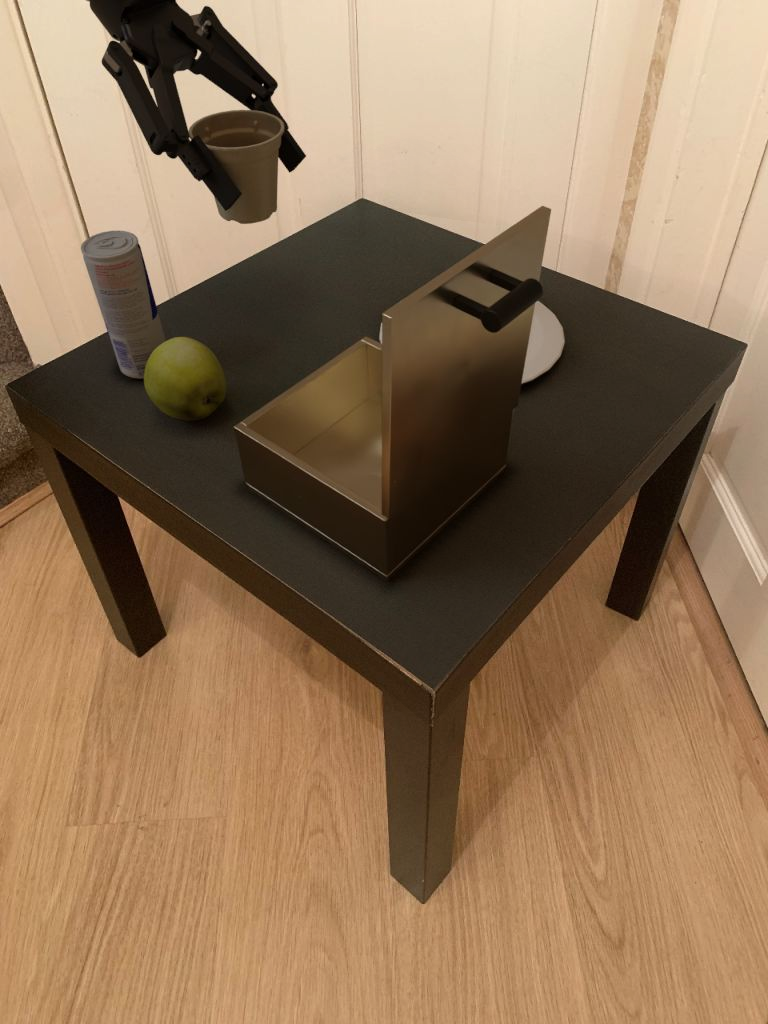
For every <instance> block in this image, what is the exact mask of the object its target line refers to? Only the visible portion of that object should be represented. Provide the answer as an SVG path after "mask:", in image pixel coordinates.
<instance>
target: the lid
mask: <svg viewBox="0 0 768 1024" xmlns="http://www.w3.org/2000/svg"><path fill="white" fill-rule="evenodd" d="M551 214H552V209H551V208H550V207H548V206H545V205H541V206H540V207H538V208H536V209H535V210H533V211H532V212H531V213H529V214H528V215H526V216H524V217H523V218H522V219H520V220H519V221H517V222H516V223H514V224H513V225H511V226H510V227H508V228H507V229H505V230H504V231H502V232H501V233H499V234H498V235H497V236H495V237H493V238H492V239H490V240H489V241H488V242H486V243H485V244H483V245H481V246H480V247H478V248H477V249H475V250H474V251H473V252H472V253H470V254H468V255H467V256H465V257H463V259H461V260H460V261H458V262H456V263H455V264H454V265H451V267H449V268H448V269H446V270H444V271H443V272H442V273H440V274H439V275H437V276H436V277H434V278H432V280H429V281H428V282H427V283H425V284H423V285H422V286H420V287H419V288H418V289H416V290H415V291H413V292H412V293H411V294H409V295H407V296H406V297H404V298H403V299H401V300H402V301H401V300H400V301H399V302H397V303H395V304H394V305H393V306H391V307H389V308H388V309H387V310H385V311H384V312H382V314H381V323H382V509H381V514H382V515H383V516H385V517H386V518H388V519H390V518H391V517H392V516H393V515H394V514H395V513H397V512H398V511H399V510H400V509H401V508H402V507H403V506H404V505H406V504H407V503H408V502H409V501H410V500H411V499H412V498H414V497H415V496H416V495H417V494H418V493H419V492H420V491H421V490H423V489H424V488H425V487H426V486H427V485H428V484H429V483H431V482H432V481H433V480H434V479H435V478H436V477H437V476H439V475H440V474H441V473H442V472H443V471H444V470H445V469H446V468H448V467H449V466H450V465H451V464H452V463H453V462H454V461H456V460H457V459H458V458H459V457H460V456H461V455H462V454H464V453H465V452H466V451H467V450H468V449H469V448H470V447H471V446H473V445H474V444H475V443H476V442H477V441H478V440H479V439H481V438H482V437H483V436H484V435H485V434H486V433H487V432H488V431H490V430H491V429H492V428H493V427H494V426H495V425H496V424H498V423H499V422H500V421H501V420H502V419H503V418H504V417H506V416H507V415H508V414H509V413H510V412H511V411H512V410H513V411H514V410H515V409H516V408H517V407H518V405H519V401H520V400H519V399H520V394H521V388H522V385H521V383H522V377H523V371H524V366H525V360H526V354H527V348H528V342H529V336H530V331H531V325H532V319H533V313H534V307H535V303H536V302H537V301H539V300H541V299H542V298H543V295H544V289H543V286H542V284H541V282H540V277H541V273H542V267H543V260H544V255H545V248H546V243H547V236H548V231H549V225H550V219H551Z"/></svg>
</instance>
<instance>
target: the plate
mask: <svg viewBox="0 0 768 1024" xmlns="http://www.w3.org/2000/svg"><path fill="white" fill-rule="evenodd" d="M402 300H403V299H401V300H400V301H402ZM378 339H379V343H381V344H382V322H381V323H380V328H379V336H378ZM565 339H566V338H565V333H564V328H563V326H562V324H561V322H560V321H559V319H558V317H557V316H556V315H555V313H554V312H552V311H551V309H549V308H548V307H547V306H545V305H544V303H542V302H541V301H539V300H538V301H537V302H536V303H535V307H534V313H533V319H532V325H531V331H530V336H529V342H528V348H527V354H526V360H525V366H524V371H523V377H522V383H521V386H522V385H525V384H528V383H530V382H533V381H535V380H537V379H538V378H539V377H541V376H542V375H544V374H545V373H547V372H549V371H550V370H551V369H552V368H553V366H554V365H555V364H556V363H558V362H557V361H559V359H560V358H561V356H562V353H563V350H564V346H565V343H566V340H565Z"/></svg>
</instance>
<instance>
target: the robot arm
mask: <svg viewBox="0 0 768 1024" xmlns="http://www.w3.org/2000/svg"><path fill="white" fill-rule="evenodd" d="M85 1H86V2H89V8H90V10H91V12H92V13H93V14H94V15H95V17H96V18H97V19H98V21H99V22H100V24H101V25H102V26H103V27H104V28H105V30H106V31H107V33H108V35H109V36H110V37H111V38H112V40H110V41H109V43H108V44H107V47H106V49H105V51H104V54H103V56H102V58H101V65H102V66H103V68H104V69H105V70H106V71H107V72H108V74H110V75H111V77H112V78H113V79H114V80H115V81H116V83H117V85H118V87H119V89H120V91H121V93H122V95H123V97H124V99H125V102H126V103H127V105H128V107H129V109H130V111H131V114H132V115H133V117H134V119H135V121H136V123H137V125H138V128H139V129H140V131H141V133H142V136H143V137H144V139H145V142H146V143H147V145H148V147H149V149H150V152H151V153H153V154H154V155H155V156H162V154H163V153H165V155H166V156H167V157H168V158H169V159H172V160H174V159H177V158H179V160H180V161H181V162H182V164H183V165H184V166H185V168H186V169H187V170H188V171H189V173H190V174H191V176H192V177H193V178H194V179H195V180H196V181H197V182H201V181H202V182H203V183H204V185H205V186H206V187H207V188H208V190H209V191H210V192H211V194H212V196H213V197H214V196H215V198H216V199H217V200H218V202H219V203H220V204H221V206H222V207H223V208H224V210H225V211H226V210H228V209H230V208H231V207H232V205H233V204H234V203H235V202H236V201H237V199H238V198H239V197H240V196H241V195H242V193H241V192H240V190H239V189H238V188H237V186H236V185H235V184H234V182H233V181H232V180H231V178H230V177H229V176H228V174H227V173H226V172H225V170H224V169H223V167H222V166H221V165H220V163H219V162H218V161H217V159H216V158H215V157H214V155H213V154H212V153H211V151H210V150H209V149H208V147H207V146H206V145H205V143H204V142H203V141H202V139H201V138H200V137H199V135H197V136H195V137H193V138H192V140H191V139H190V136H189V128H188V125H187V121H186V117H185V113H184V109H183V105H182V102H181V98H180V94H179V90H178V87H177V83H176V79H175V76H174V75H175V74H176V73H177V72H184V71H187V70H188V71H189V72H191V73H192V74H193V75H196V76H199V75H201V76H203V77H204V78H205V79H207V80H208V81H210V82H211V83H213V84H214V85H215V86H216V87H218V88H219V89H221V90H222V91H224V93H226V94H228V95H229V96H230V97H231V98H233V99H235V100H236V101H237V102H239V103H240V104H242V105H243V107H245V108H247V109H248V110H256V111H262V112H266V113H269V114H272V115H275V116H276V117H278V118H279V119H281V120H282V121H283V123H284V133H283V134H282V136H281V145H280V147H279V151H278V160H279V161H280V162H281V163H282V164H283V166H284V167H285V169H286V170H287V172H288V173H292V172H294V171H295V170H296V168H297V167H298V166H299V165H300V164H301V163H302V162H303V161H304V159H305V158H307V154H306V153H305V152H304V150H303V149H302V148H301V147H300V145H299V144H298V142H297V140H296V139H295V137H293V135H292V134H291V132H290V131H289V128H290V127H289V125H288V123H287V121H286V120H285V118H284V117H283V116H282V114H281V113H280V111H279V109H278V108H277V107H276V105H275V104H274V103H273V101H272V97H273V95H274V94H275V91H276V90H277V88H278V87H279V84H278V81H277V80H276V79H275V77H273V76H272V75H271V74H270V72H268V71H267V69H265V67H263V65H261V63H260V62H259V61H258V60H257V59H256V58H255V57H254V56H253V55H252V54H251V53H250V52H249V51H248V50H247V49H246V48H245V47H244V46H243V45H242V44H241V43H240V42H239V41H238V40H237V39H236V38H235V36H233V35H232V34H231V33H230V32H229V30H228V29H226V28H225V27H224V25H223V23H222V22H221V20H220V19H219V17H218V16H217V14H216V12H215V11H214V10H213V8H212V7H211V6H209V5H204V6H203V8H202V10H201V11H200V12H199V13H195V14H190V13H188V12H187V11H186V10H184V9H183V8H182V7H181V6H180V5H179V3H178V2H177V0H85ZM198 51H199V52H200V54H199V56H198ZM197 56H198V57H197ZM137 63H139V64H140V65H142V66H143V67H144V71H145V75H146V78H147V82H148V84H147V83H146V81H145V78H144V77H143V75H142V72H141V71H140V69H139V67H138V65H137ZM150 89H152V91H153V95H154V97H153V95H152V92H151V91H150ZM154 98H155V99H154ZM215 198H214V199H215Z"/></svg>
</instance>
